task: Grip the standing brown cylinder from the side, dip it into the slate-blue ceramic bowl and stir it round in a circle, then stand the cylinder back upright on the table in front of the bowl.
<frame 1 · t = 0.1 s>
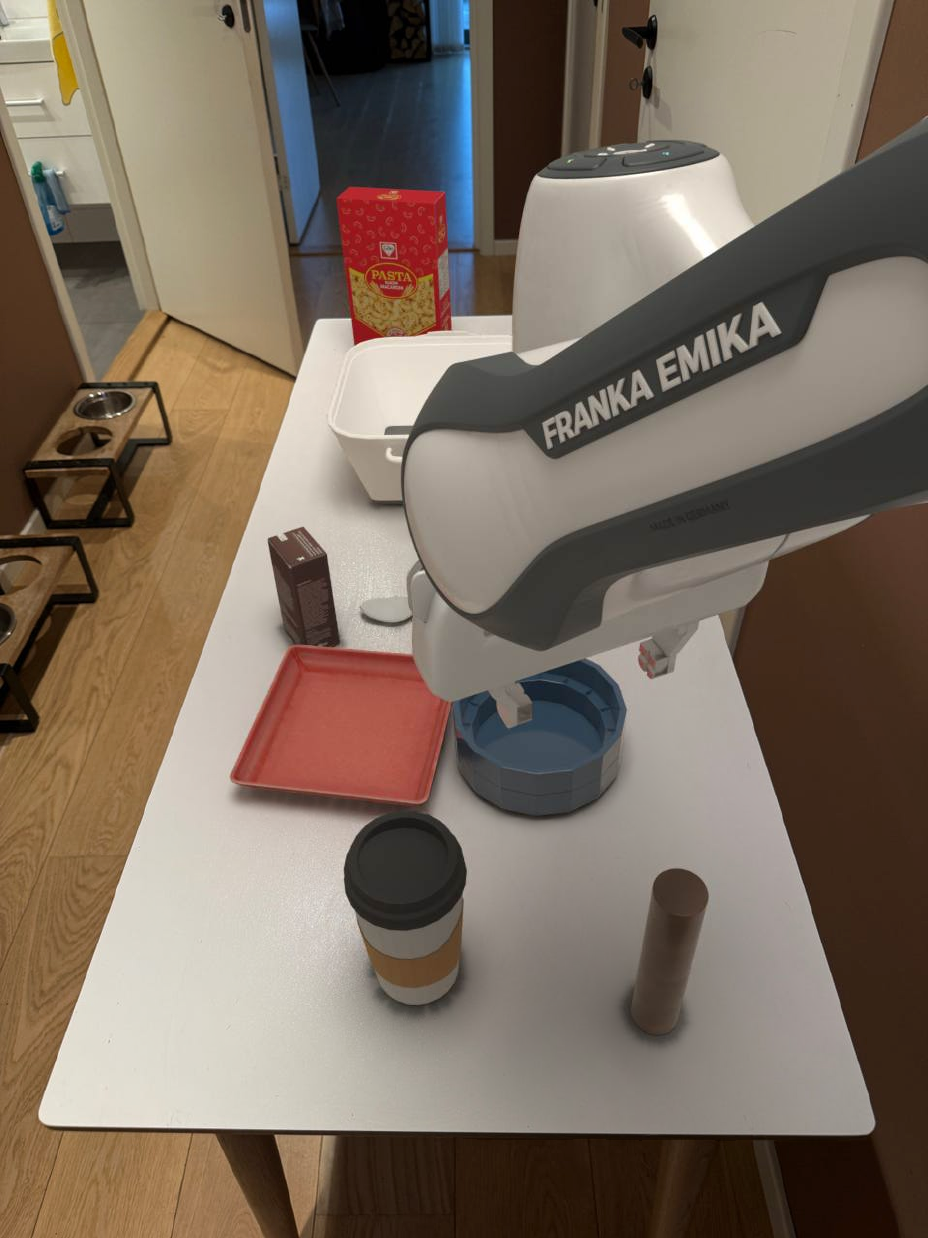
hand: (586, 693, 55), 27 cm above the table, tool pointing down, fingers open, 8 cm apart
food packaging: (404, 358, 150), on the table
coffee cup: (418, 969, 71), on the table
tub: (446, 470, 124), on the table
box: (313, 636, 100), on the table
plant saucer: (355, 740, 89), on the table
spoon: (454, 613, 102), on the table
brown cylinder: (654, 1012, 68), on the table
bowl: (537, 753, 86), on the table
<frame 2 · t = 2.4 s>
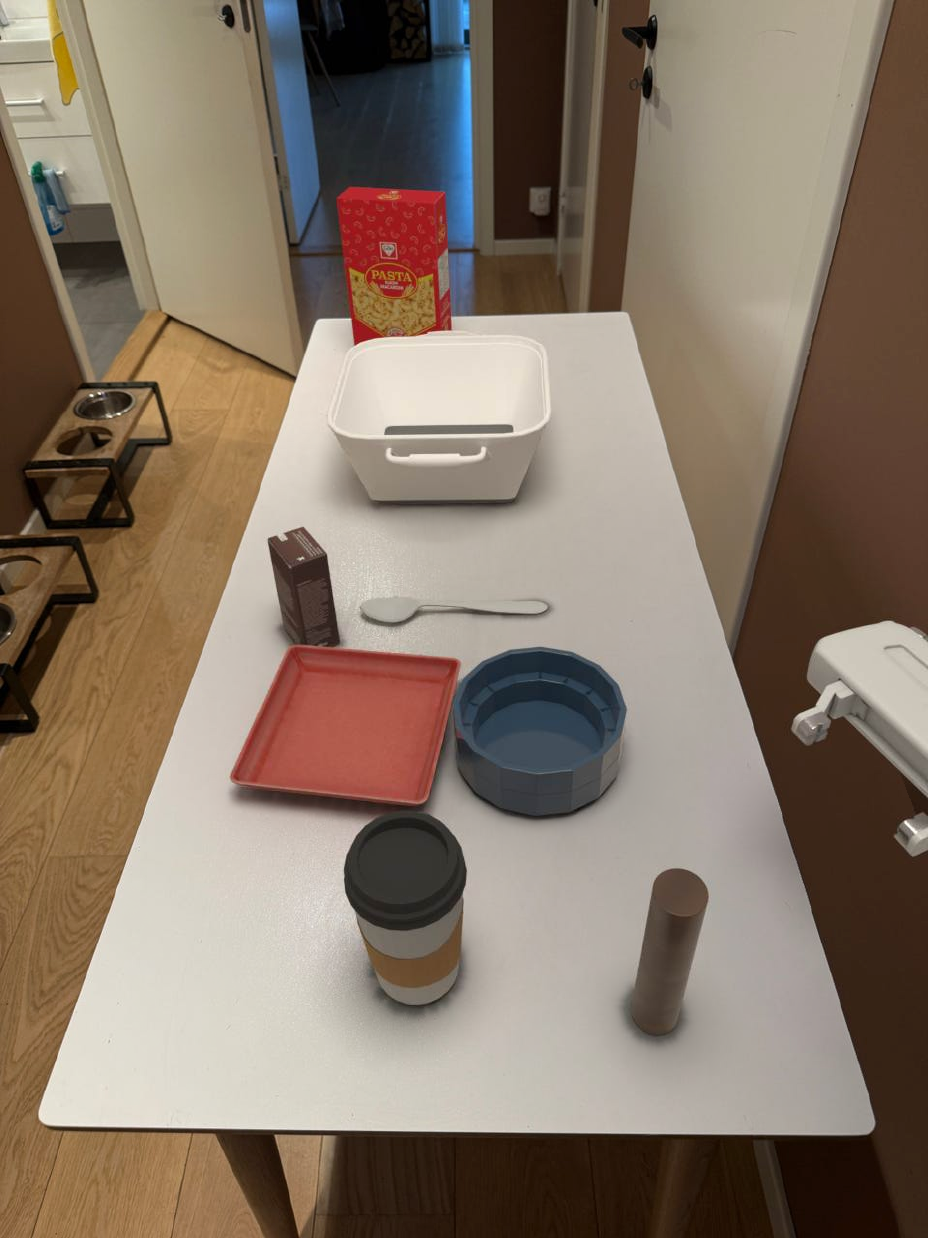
hand: (849, 783, 58), 20 cm above the table, tool horizontal, fingers open, 8 cm apart
nothing on the table moved.
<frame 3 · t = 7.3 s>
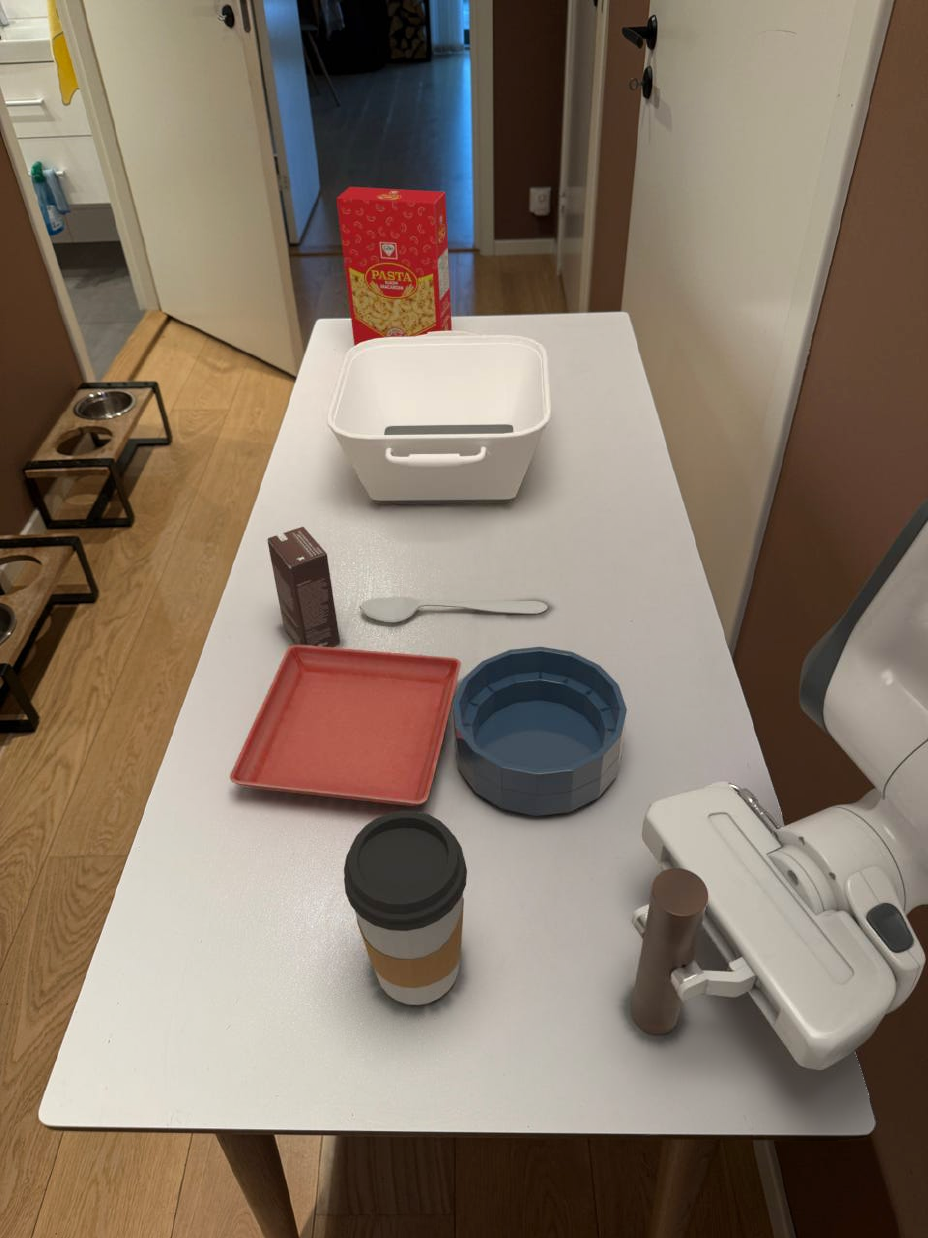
hand: (656, 956, 62), 9 cm above the table, tool horizontal, fingers closed on brown cylinder, 3 cm apart
brown cylinder: (654, 1012, 68), on the table, touching gripper
everything else where it was.
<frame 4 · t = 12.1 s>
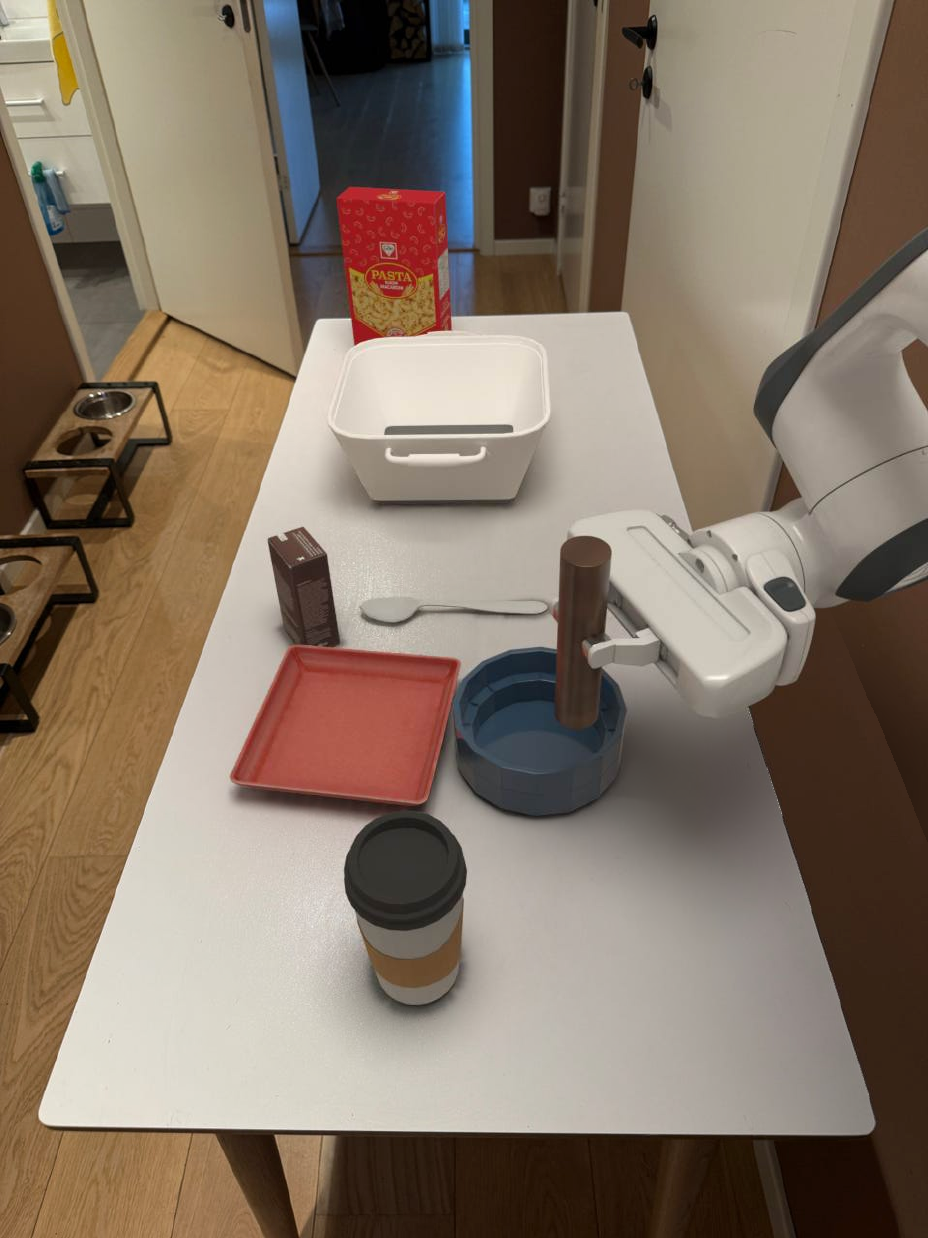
hand: (570, 634, 66), 22 cm above the table, tool horizontal, fingers closed on brown cylinder, 3 cm apart
brown cylinder: (576, 713, 72), point 13 cm above the table, touching gripper
everything else where it was.
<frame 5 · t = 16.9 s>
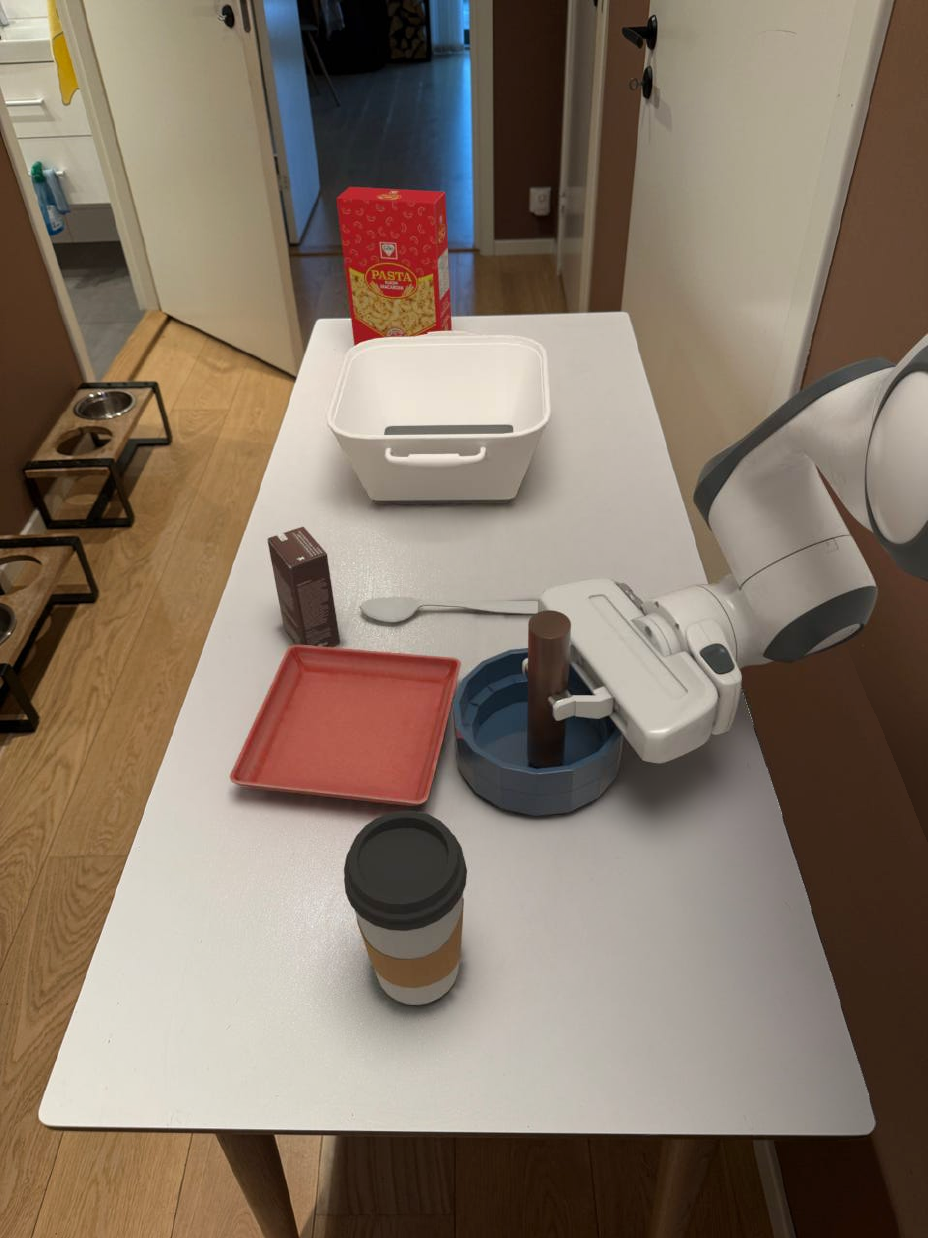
hand: (538, 690, 78), 11 cm above the table, tool horizontal, fingers closed on brown cylinder, 3 cm apart
brown cylinder: (545, 754, 84), point 2 cm above the table, touching gripper
everything else where it was.
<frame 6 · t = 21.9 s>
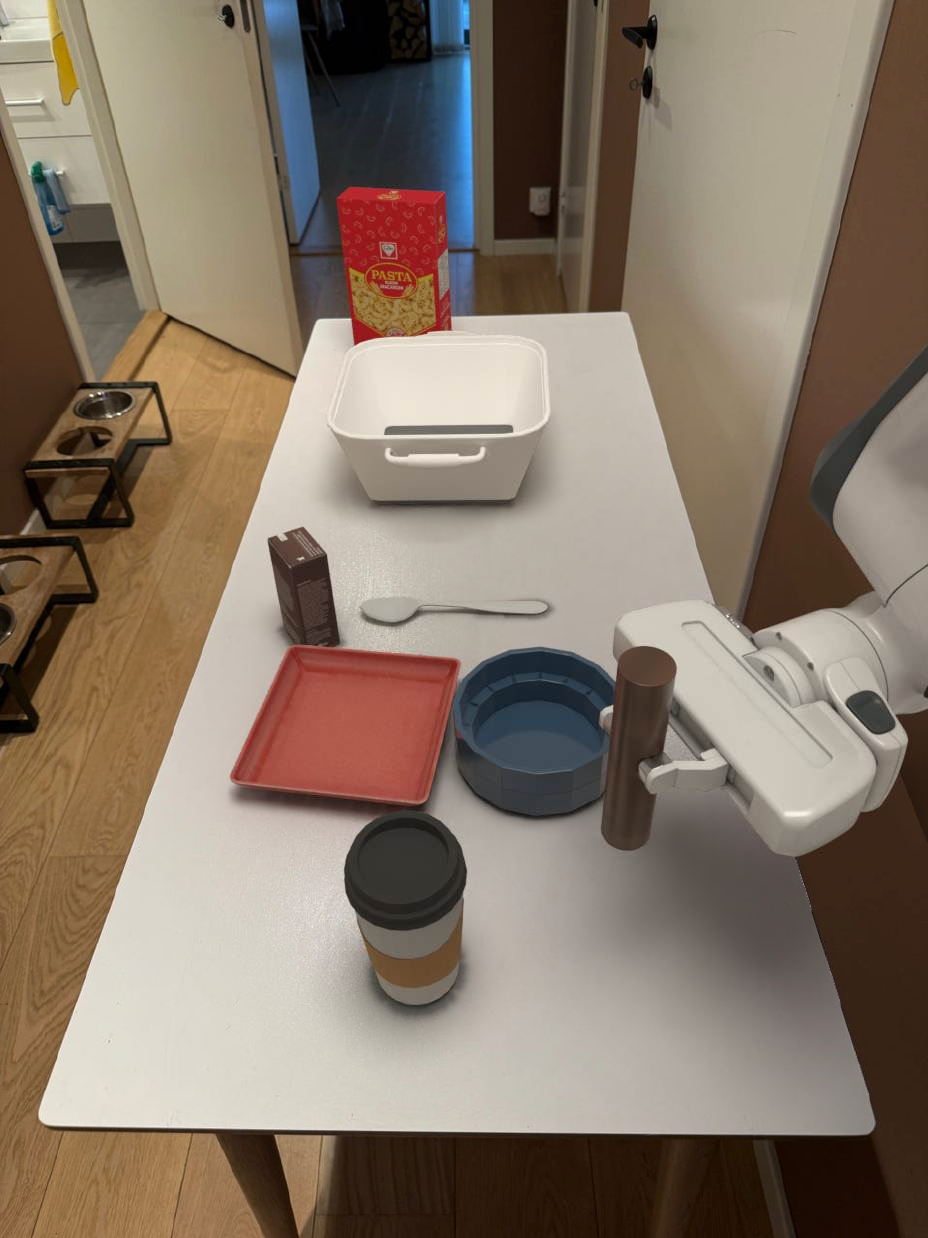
hand: (624, 752, 58), 22 cm above the table, tool horizontal, fingers closed on brown cylinder, 3 cm apart
brown cylinder: (625, 830, 64), point 13 cm above the table, touching gripper
everything else where it was.
when the fingers open (9 cm above the table, at t = 26.4 s): brown cylinder stays where it is, on the table.
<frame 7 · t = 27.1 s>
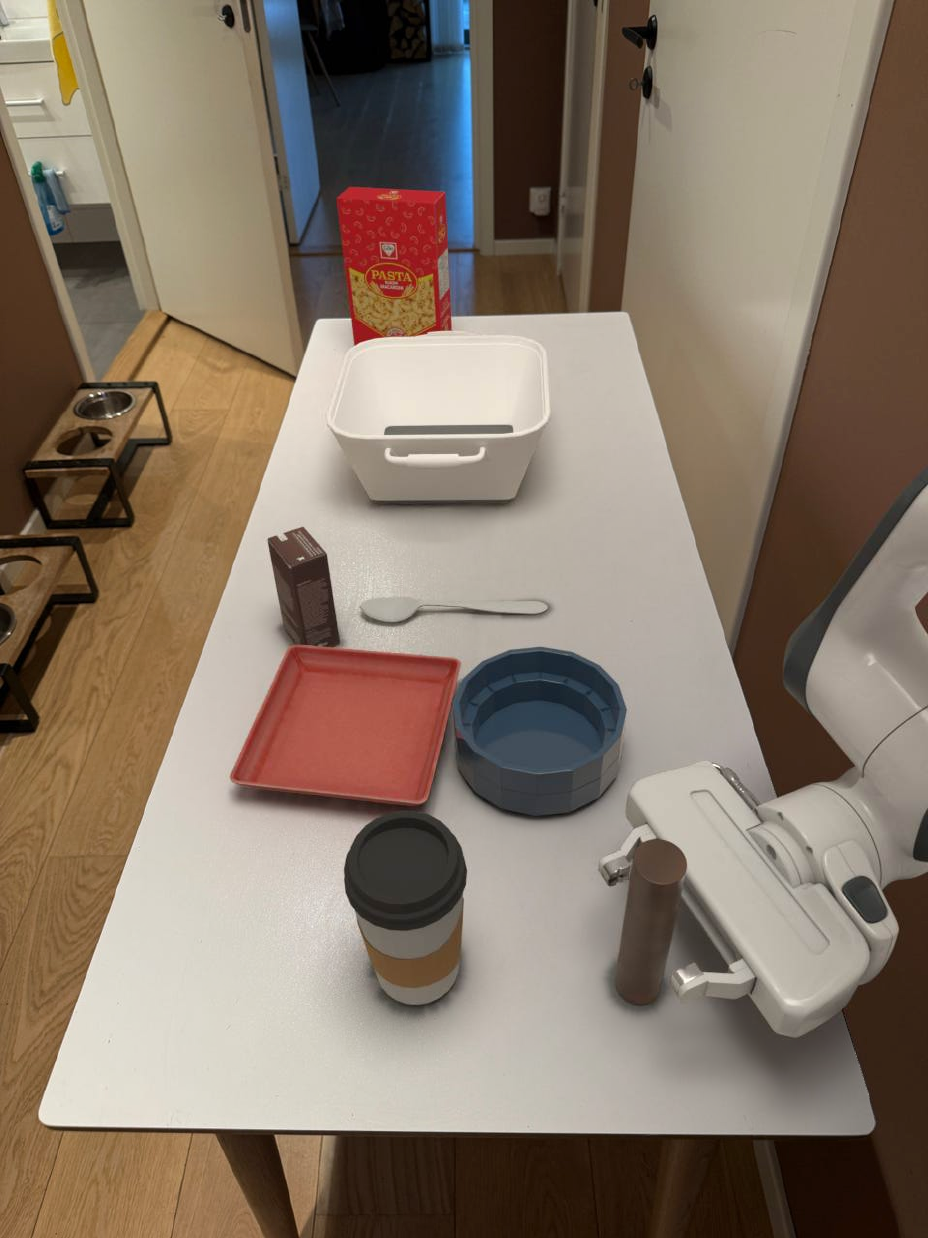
hand: (637, 928, 63), 9 cm above the table, tool horizontal, fingers open, 8 cm apart
brown cylinder: (637, 983, 69), on the table
everything else where it was.
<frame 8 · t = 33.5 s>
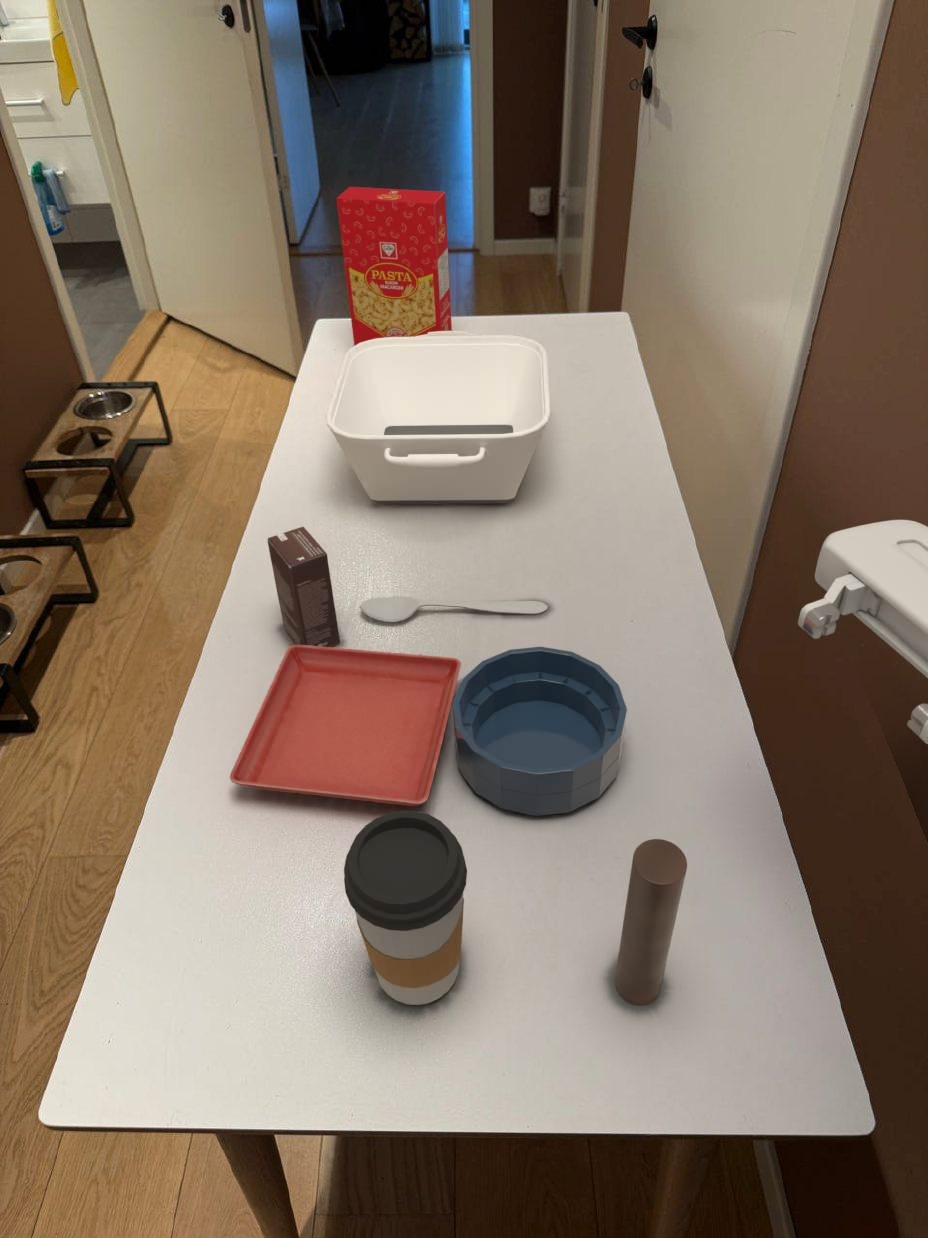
hand: (859, 672, 54), 28 cm above the table, tool horizontal, fingers open, 8 cm apart
nothing on the table moved.
at the end: brown cylinder inside the target area on the table beside the bowl (0.2 cm from its centre), on the table; brown cylinder tilted 0°; the gripper is holding nothing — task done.
